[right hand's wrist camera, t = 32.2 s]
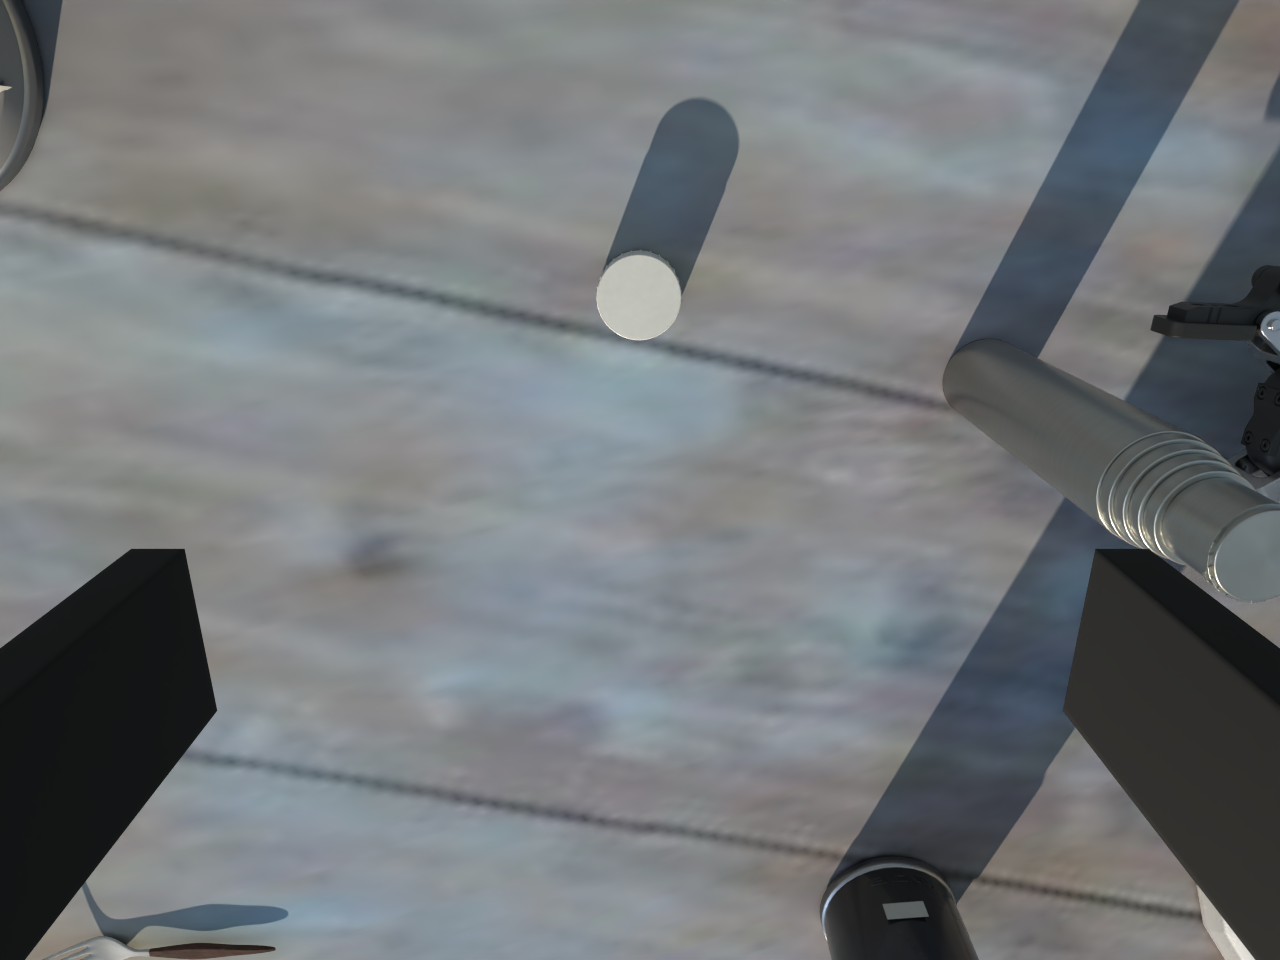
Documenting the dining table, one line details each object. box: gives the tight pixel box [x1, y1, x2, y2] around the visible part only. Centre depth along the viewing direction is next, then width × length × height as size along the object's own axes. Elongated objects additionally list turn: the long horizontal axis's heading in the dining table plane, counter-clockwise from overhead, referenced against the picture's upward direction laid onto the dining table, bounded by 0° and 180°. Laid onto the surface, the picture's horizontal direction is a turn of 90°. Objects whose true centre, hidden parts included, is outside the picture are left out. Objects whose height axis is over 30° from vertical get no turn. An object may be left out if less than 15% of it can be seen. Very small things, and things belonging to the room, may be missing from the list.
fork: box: [43, 936, 276, 960], centre depth 61 cm, size 3×16×2 cm, turn 92°
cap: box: [596, 249, 682, 340], centre depth 45 cm, size 4×4×2 cm
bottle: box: [943, 339, 1280, 603], centre depth 37 cm, size 4×4×23 cm
